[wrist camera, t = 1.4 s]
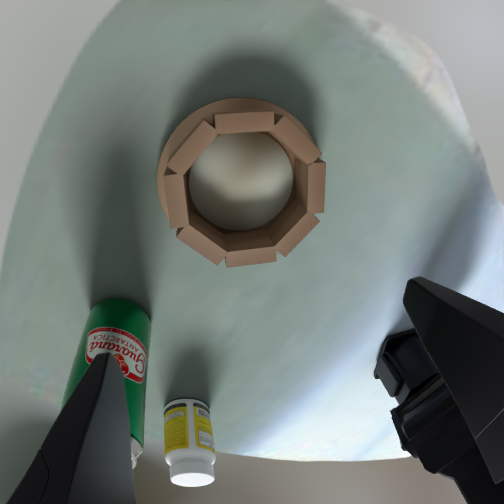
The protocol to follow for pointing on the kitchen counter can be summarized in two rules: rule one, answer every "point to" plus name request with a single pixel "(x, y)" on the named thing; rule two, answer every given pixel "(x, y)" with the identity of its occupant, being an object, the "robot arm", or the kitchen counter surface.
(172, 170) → the holder
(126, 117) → the kitchen counter surface
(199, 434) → the supplement bottle
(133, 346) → the soda can
